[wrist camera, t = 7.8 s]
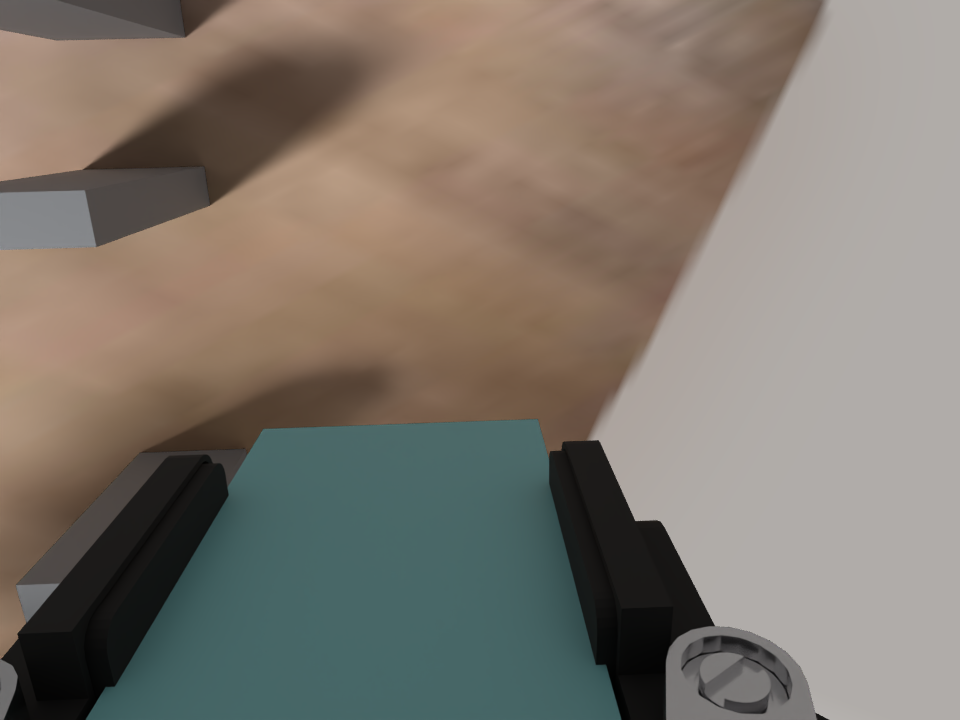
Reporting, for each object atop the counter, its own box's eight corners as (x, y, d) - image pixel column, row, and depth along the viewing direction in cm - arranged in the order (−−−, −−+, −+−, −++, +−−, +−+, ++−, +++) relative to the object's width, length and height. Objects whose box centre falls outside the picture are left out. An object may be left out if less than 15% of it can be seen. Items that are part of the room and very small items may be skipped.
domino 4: (210, 205, 30) (96, 246, 20) (90, 209, 30) (-80, 252, 20) (204, 166, 29) (84, 190, 20) (82, 169, 29) (-96, 195, 20)
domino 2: (250, 478, 34) (171, 617, 25) (145, 482, 34) (27, 623, 25) (246, 448, 34) (164, 579, 24) (139, 452, 33) (15, 585, 24)
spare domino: (537, 495, 13) (735, 1392, 4) (273, 506, 13) (-167, 1455, 4) (537, 419, 13) (765, 1238, 3) (263, 429, 13) (-275, 1308, 3)
